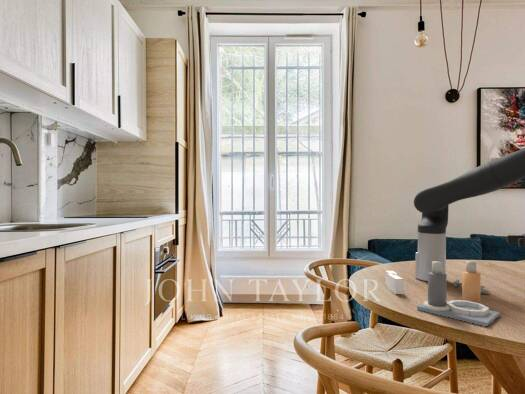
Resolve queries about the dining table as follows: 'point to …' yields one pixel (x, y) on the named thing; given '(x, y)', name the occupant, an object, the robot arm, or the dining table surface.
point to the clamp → (481, 287)
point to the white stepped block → (394, 282)
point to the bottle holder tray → (453, 301)
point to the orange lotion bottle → (471, 283)
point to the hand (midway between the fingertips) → (512, 240)
